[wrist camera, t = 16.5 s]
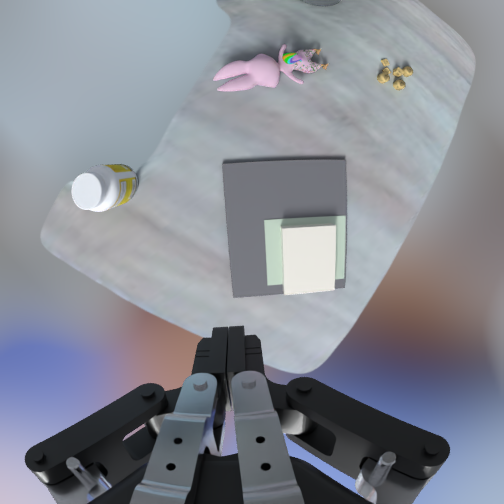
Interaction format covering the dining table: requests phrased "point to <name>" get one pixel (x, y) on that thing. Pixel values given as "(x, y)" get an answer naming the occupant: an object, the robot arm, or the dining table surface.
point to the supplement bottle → (104, 187)
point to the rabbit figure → (267, 69)
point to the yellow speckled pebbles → (396, 72)
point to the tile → (308, 258)
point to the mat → (279, 216)
